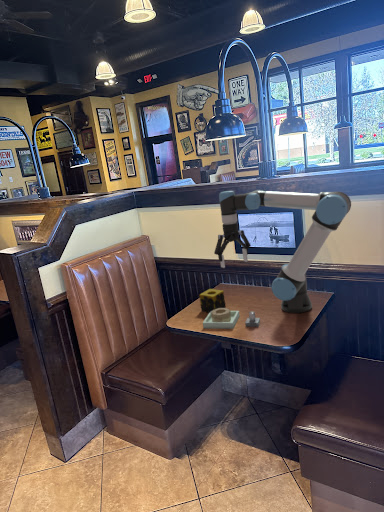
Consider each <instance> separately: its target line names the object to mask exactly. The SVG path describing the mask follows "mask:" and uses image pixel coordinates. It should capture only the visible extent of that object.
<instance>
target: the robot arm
mask: <svg viewBox="0 0 384 512" xmlns="http://www.w3.org/2000/svg"><path fill="white" fill-rule="evenodd" d="M218 195H219V196H218V197H219V198H218V199H219V206H220V207H219V208H220V215H221V223H222V232H223V234H218V235H217V242H216V246H215V249H214V255H216V256H217V258H218V262H220V268H223V269H225V268H226V263H225V257H224V254H223V253H224V251H225V250H226V248H227V246H228V244H229V243H231V242H235V241H236V242H237V243H238V244H239V245H240V246H241V247H242V249H241V250H242V259H243V262H245V263H247V262H249V260H248V255H249V249H250V247H251V246H252V245H251V243H250V241H249V239H248V238H247V236H246V234H245V230H243V229H239V223H238V214H237V211H247V210H249V211H250V210H251V211H252V210H258V209H259V208H260V207H270V208H281V209H295V210H305V211H306V210H309V211H310V210H311V211H314V212H313V214H312V216H311V220H312V223H311V225H310V226H309V228H308V230H307V231H306V233H305V235H304V237H303V238H302V240H301V242H300V243H299V245H298V247H297V249H296V251H295V252H294V254H293V255H292V257H291V259H290V261H289V263H286V264H283V265H281V269H280V271H279V273H278V275H277V276H276V278H275V279H273V281H272V283H271V287H270V288H271V291H272V294H273V296H274V297H276V298H277V299H278V300H281V303H280V306H281V307H280V308H281V310H282V311H284V312H285V313H291V314H299V313H305V312H308V311H310V310H311V309H312V308H313V303H312V301H311V298H310V297H309V294H308V282H307V271H308V269H309V268H310V266H311V265H312V264H313V262H314V260H315V258H316V257H317V255H318V253H319V251H321V248H322V247H323V245H324V244H325V242H326V240H327V239H328V237H329V235H330V234H331V232H335V231H337V230H338V228H339V226H340V224H341V223H342V222H343V220H344V219H345V217H346V216H347V214H349V212H350V211H351V209H352V201H351V198H350V197H349V196H348V194H347V193H345V192H342V191H320V192H319V193H307V192H287V191H268V190H267V191H266V190H262V189H256V190H253V191H251V192H247V193H239V194H236V193H235V191H234V190H226V191H221V192H220V193H219V194H218Z"/></svg>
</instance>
